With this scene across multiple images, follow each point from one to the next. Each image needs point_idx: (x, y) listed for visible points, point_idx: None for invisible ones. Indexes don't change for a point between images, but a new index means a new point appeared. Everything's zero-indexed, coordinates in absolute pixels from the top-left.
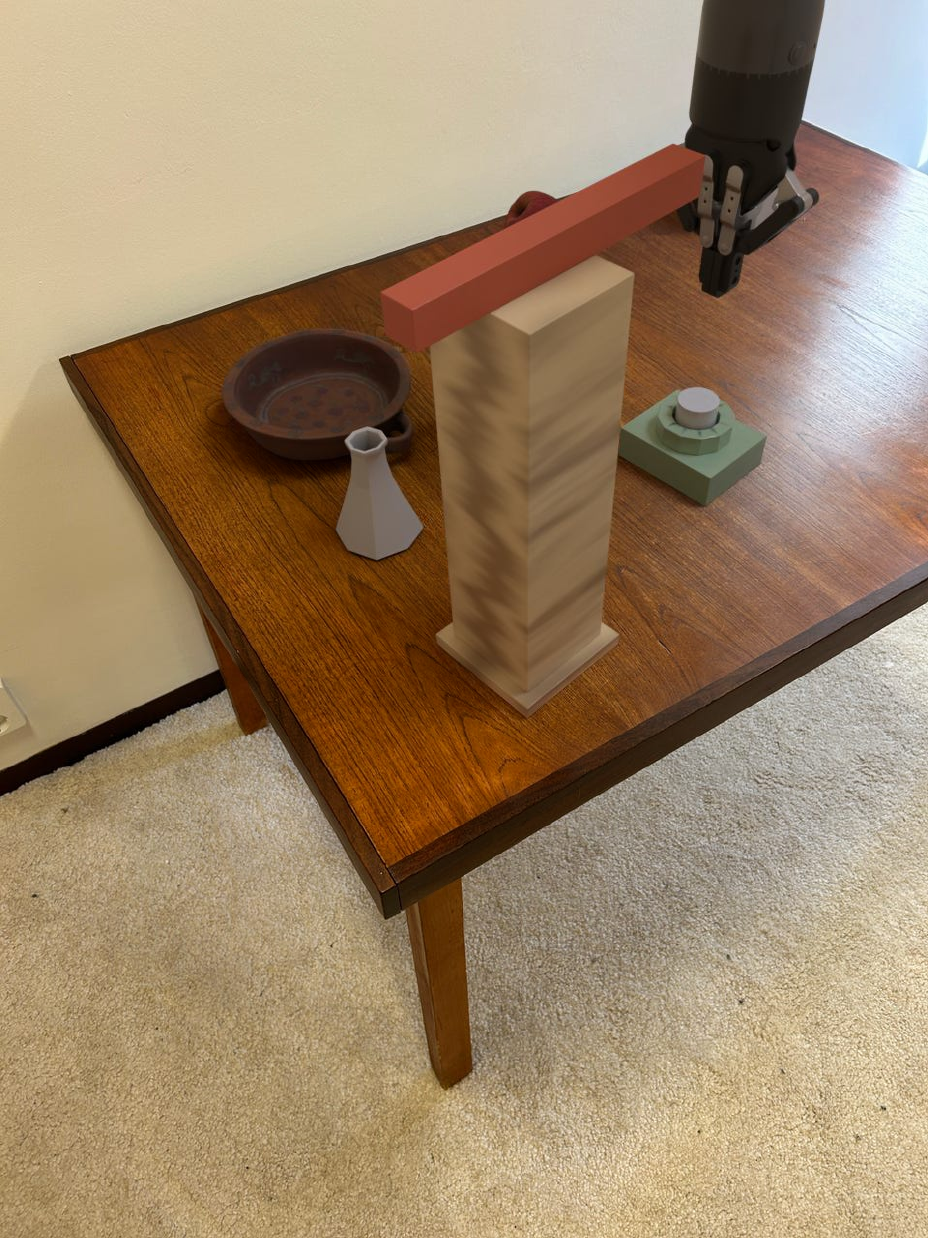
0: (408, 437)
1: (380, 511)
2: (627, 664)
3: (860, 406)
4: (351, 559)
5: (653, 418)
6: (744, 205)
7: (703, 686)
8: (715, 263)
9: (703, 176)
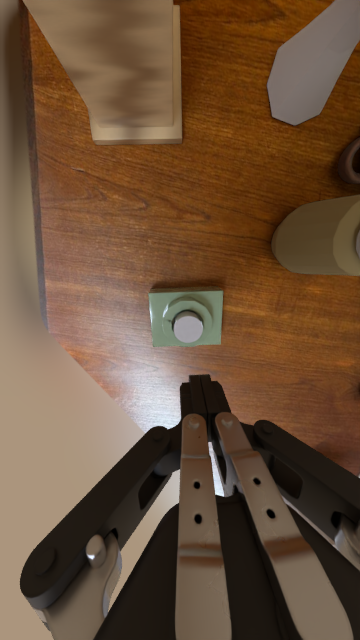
0: (345, 163)
1: (306, 33)
2: (79, 135)
3: (150, 403)
4: (295, 34)
5: (213, 312)
6: (175, 511)
7: (38, 161)
8: (201, 401)
9: (295, 552)
